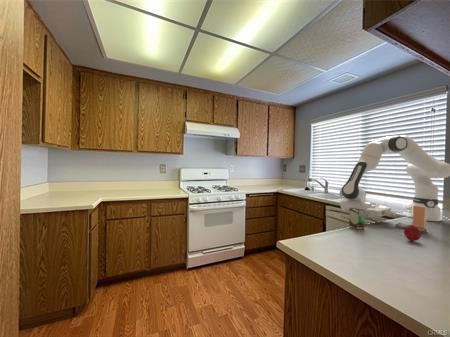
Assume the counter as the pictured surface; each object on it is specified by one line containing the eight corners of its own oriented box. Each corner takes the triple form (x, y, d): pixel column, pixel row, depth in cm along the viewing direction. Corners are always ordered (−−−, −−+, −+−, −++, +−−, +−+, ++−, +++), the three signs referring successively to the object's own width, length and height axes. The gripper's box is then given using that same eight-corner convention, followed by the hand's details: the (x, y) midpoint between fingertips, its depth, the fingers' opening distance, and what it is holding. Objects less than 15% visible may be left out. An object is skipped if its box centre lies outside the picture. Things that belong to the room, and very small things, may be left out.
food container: (371, 232, 104) (372, 213, 103) (358, 231, 104) (359, 212, 104) (359, 225, 116) (360, 208, 115) (347, 224, 117) (348, 207, 116)
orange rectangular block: (412, 228, 109) (413, 205, 109) (414, 226, 111) (416, 205, 111) (423, 230, 105) (425, 207, 105) (425, 229, 108) (427, 206, 108)
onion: (424, 244, 89) (425, 226, 89) (409, 242, 90) (410, 225, 90) (414, 239, 95) (415, 222, 95) (400, 238, 96) (401, 221, 96)
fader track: (395, 227, 115) (395, 223, 115) (398, 225, 118) (398, 222, 117) (424, 233, 105) (424, 229, 105) (426, 232, 108) (427, 228, 108)
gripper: (361, 205, 122) (389, 210, 111) (374, 202, 134) (401, 206, 123) (360, 216, 122) (388, 222, 111) (374, 212, 134) (400, 217, 123)
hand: (395, 214), depth 117 cm, fingers closed
